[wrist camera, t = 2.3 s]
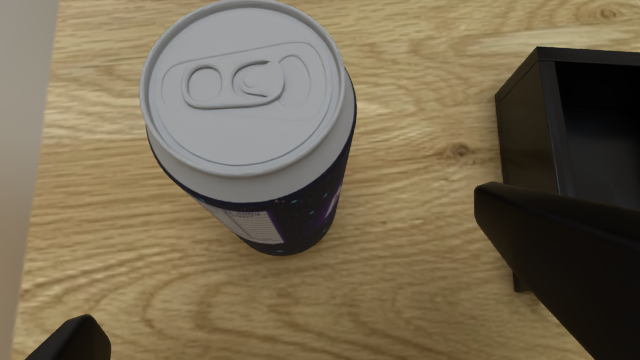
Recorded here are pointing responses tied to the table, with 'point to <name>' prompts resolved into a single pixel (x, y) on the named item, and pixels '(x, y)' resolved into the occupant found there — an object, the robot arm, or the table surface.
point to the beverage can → (252, 119)
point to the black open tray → (573, 126)
